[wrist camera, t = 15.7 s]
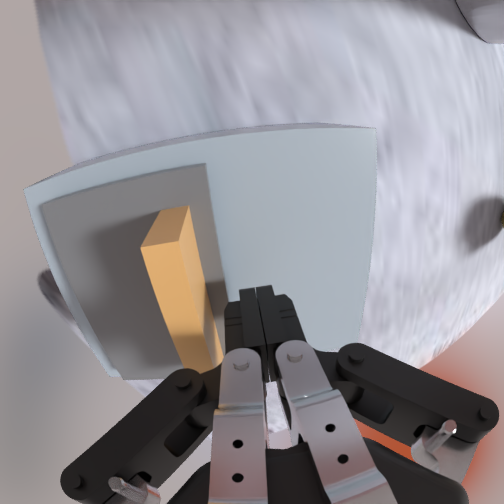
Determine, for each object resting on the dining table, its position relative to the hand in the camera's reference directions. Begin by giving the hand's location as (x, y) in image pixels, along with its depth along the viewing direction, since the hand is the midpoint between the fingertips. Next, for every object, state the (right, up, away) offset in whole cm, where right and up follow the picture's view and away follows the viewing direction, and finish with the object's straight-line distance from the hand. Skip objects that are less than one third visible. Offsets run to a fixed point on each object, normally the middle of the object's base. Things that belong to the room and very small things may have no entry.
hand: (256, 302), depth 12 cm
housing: (-3, +4, +9) cm, 10 cm away
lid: (-5, 0, +1) cm, 6 cm away
